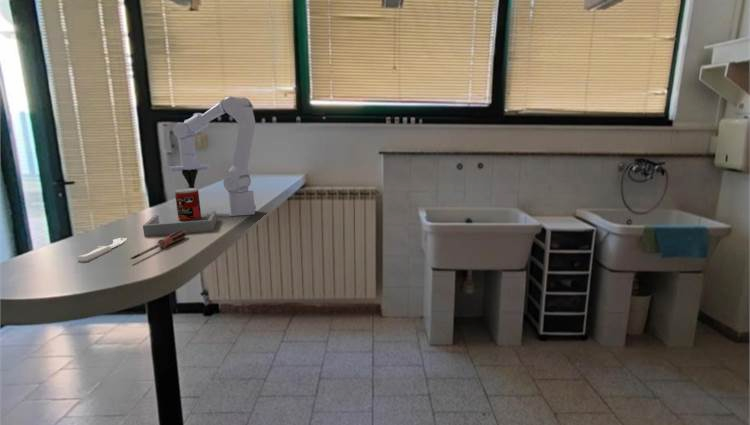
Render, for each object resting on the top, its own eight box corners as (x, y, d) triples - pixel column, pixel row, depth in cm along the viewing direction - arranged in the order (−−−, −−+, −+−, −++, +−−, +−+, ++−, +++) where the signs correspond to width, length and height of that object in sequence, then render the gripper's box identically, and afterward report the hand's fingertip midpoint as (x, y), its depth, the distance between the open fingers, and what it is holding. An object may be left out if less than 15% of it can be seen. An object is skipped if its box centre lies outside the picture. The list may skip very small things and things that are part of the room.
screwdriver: (136, 265, 104) (134, 253, 103) (125, 264, 104) (124, 253, 104) (189, 237, 128) (188, 228, 127) (180, 237, 128) (179, 228, 128)
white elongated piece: (124, 230, 136) (147, 229, 136) (125, 235, 136) (148, 234, 136) (56, 257, 106) (86, 256, 106) (57, 263, 106) (87, 262, 106)
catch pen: (217, 220, 149) (216, 210, 148) (212, 230, 135) (211, 220, 134) (155, 224, 144) (154, 215, 143) (144, 236, 130) (142, 225, 129)
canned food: (173, 220, 150) (169, 191, 148) (189, 215, 157) (185, 187, 155) (190, 221, 148) (187, 191, 145) (205, 216, 155) (202, 188, 153)
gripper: (209, 153, 164) (212, 186, 167) (169, 154, 161) (174, 188, 164) (206, 154, 158) (210, 188, 161) (165, 155, 154) (170, 191, 157)
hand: (192, 188), depth 162 cm, fingers closed
